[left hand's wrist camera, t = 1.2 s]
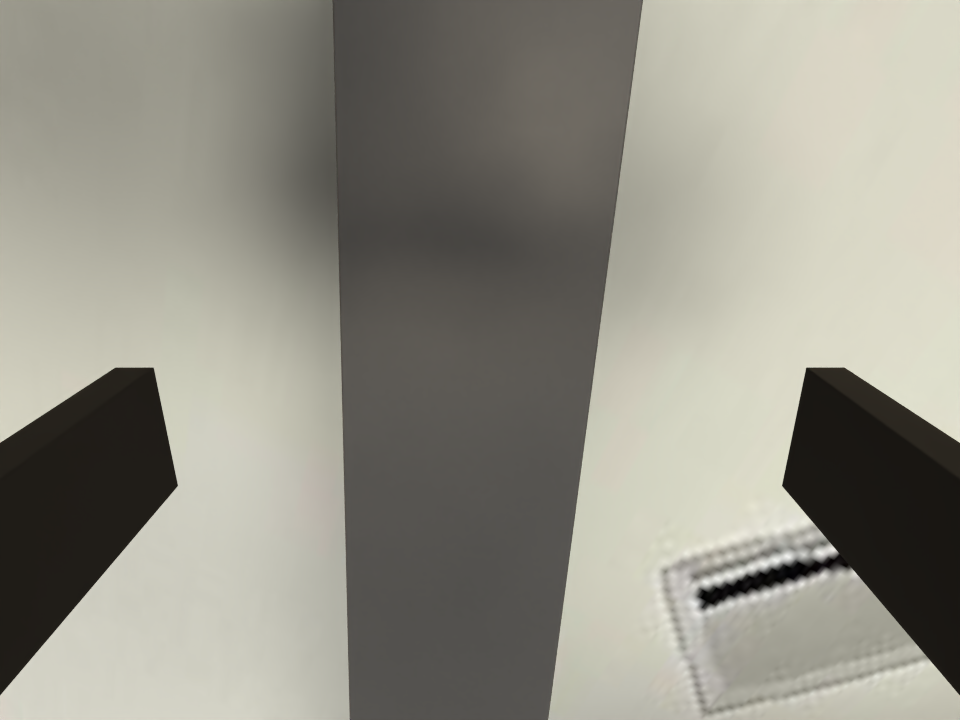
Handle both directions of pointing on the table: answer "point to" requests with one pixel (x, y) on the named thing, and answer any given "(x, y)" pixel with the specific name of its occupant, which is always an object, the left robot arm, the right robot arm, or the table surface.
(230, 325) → the table surface
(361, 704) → the long grey beam
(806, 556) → the table surface
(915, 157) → the table surface
